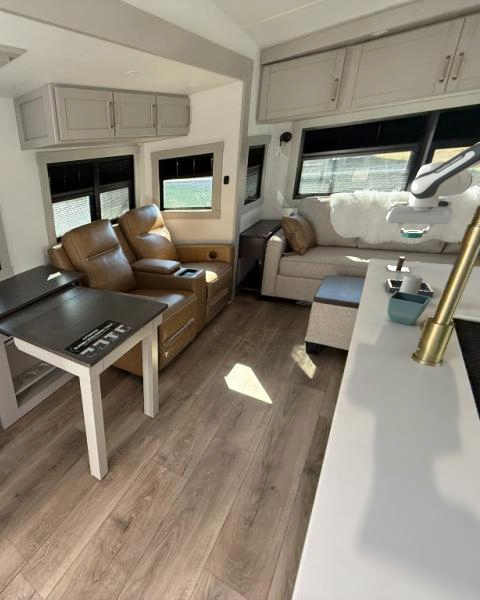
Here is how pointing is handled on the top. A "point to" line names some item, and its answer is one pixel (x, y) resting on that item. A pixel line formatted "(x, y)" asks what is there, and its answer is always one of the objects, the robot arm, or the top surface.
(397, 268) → the peg stand
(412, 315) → the flower pot
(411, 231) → the ring
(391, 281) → the tray
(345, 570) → the top surface
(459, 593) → the top surface
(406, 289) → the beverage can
